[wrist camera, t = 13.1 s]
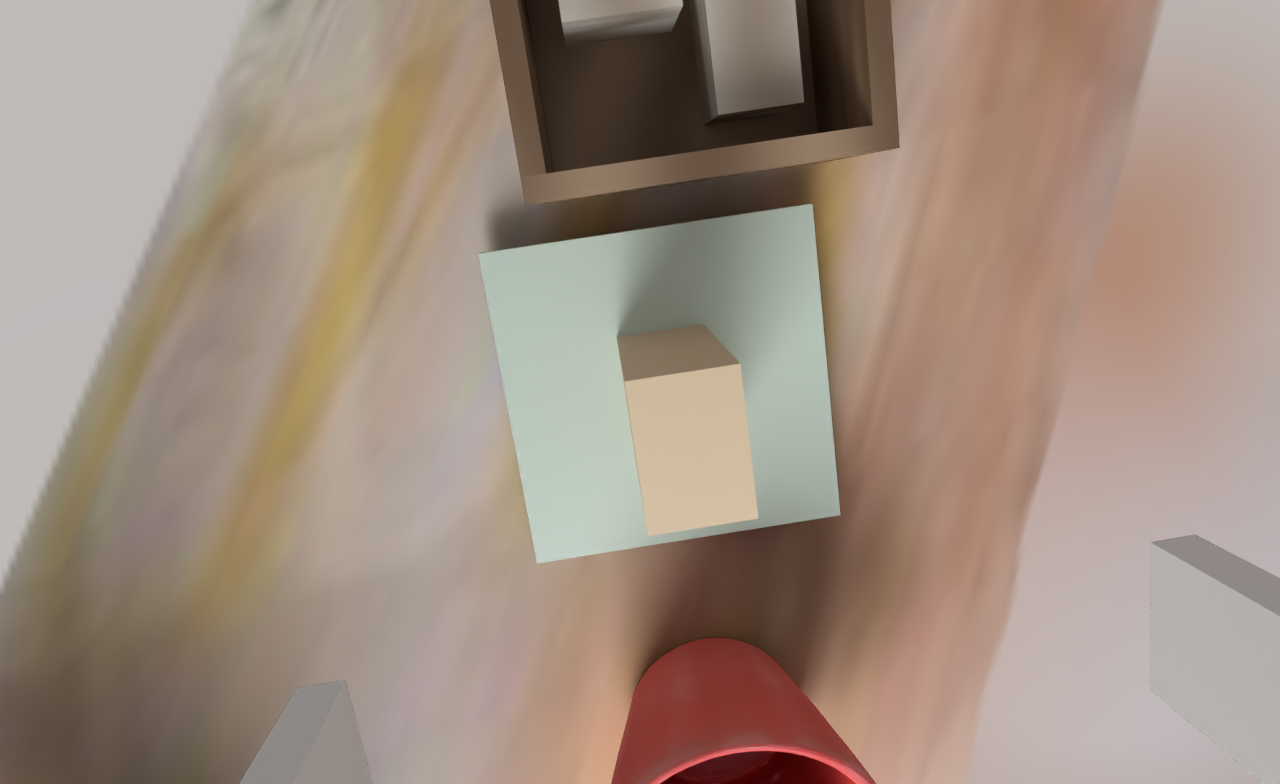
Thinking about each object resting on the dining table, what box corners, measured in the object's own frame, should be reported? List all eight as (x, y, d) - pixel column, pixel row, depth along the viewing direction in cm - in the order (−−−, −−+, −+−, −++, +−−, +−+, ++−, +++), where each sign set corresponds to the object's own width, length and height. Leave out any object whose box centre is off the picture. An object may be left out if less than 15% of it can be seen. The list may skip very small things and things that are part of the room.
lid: (540, 543, 35) (520, 672, 25) (484, 251, 32) (437, 271, 22) (826, 498, 35) (914, 608, 26) (799, 203, 32) (887, 203, 23)
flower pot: (613, 591, 36) (621, 730, 26) (846, 619, 37) (934, 762, 27) (580, 791, 38) (576, 984, 29) (800, 812, 39) (866, 1006, 30)
